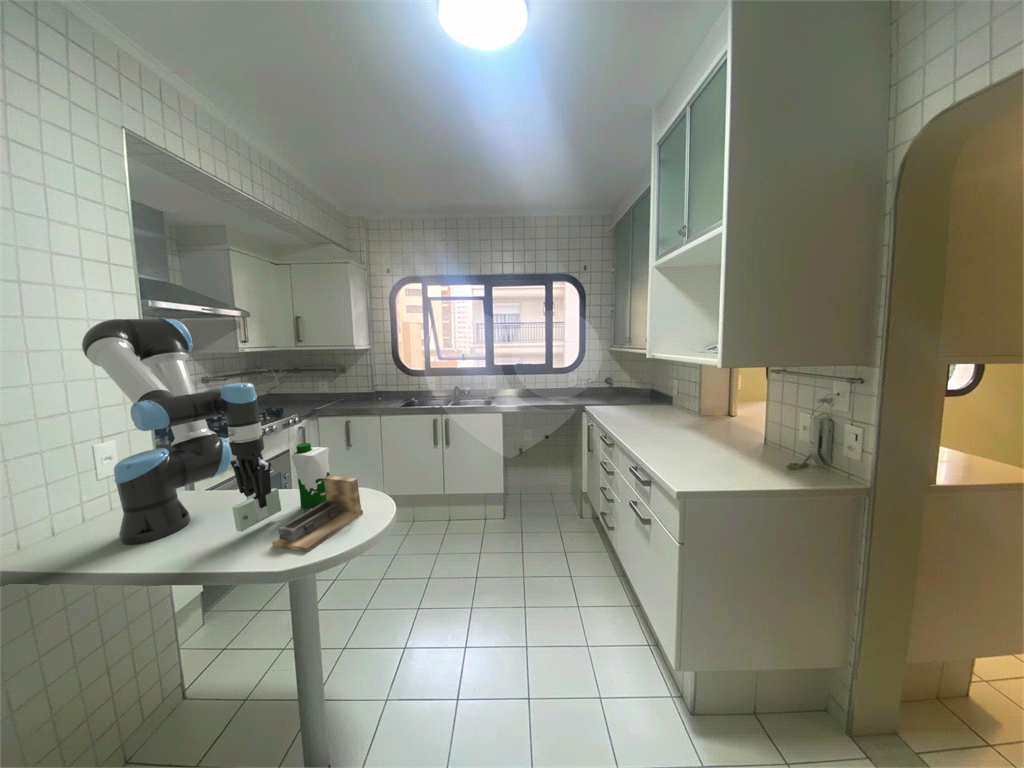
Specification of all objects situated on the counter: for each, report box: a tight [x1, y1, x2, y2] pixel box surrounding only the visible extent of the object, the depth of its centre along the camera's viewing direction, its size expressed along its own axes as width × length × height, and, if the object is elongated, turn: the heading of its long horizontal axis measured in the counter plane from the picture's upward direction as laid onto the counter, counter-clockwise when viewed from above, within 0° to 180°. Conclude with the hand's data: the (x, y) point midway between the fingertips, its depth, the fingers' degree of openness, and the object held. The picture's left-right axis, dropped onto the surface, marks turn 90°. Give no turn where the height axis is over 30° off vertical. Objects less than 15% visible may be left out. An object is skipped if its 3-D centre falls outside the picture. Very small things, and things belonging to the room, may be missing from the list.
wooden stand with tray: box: [271, 475, 364, 553], centre depth 104 cm, size 12×20×11 cm, turn 160°
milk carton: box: [290, 442, 331, 510], centre depth 120 cm, size 9×9×20 cm
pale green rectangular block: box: [232, 487, 282, 533], centre depth 107 cm, size 3×12×7 cm, turn 160°
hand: (259, 516), depth 107 cm, fingers closed on pale green rectangular block, 2 cm apart
